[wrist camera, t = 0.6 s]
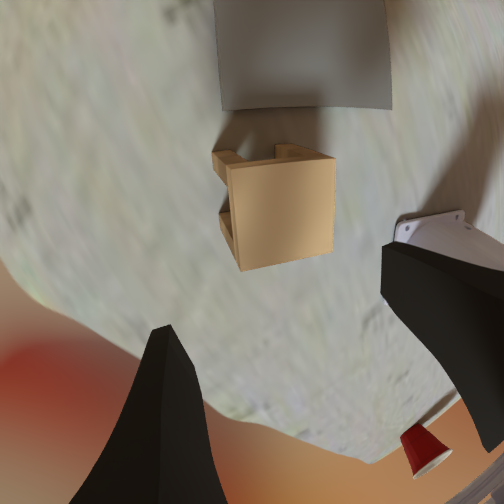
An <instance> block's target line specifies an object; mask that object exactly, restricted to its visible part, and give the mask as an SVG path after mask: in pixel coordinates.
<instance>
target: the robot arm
mask: <svg viewBox="0 0 504 504" xmlns="http://www.w3.org/2000/svg"><path fill="white" fill-rule="evenodd" d="M464 218H465V212H464V211H463V210H457V211H452V212H447V213H442V214H437V215H432V216H426V217H421V218H416V219H411V220H406V221H401V222H399V223H398V224H397V226H396V232H395V238H394V242H391V243H389V244H387V245H384V246H382V268H381V291H380V293H381V295H382V296H383V303H384V304H385V305H389V306H390V307H391V309H392V310H393V311H394V313H395V314H396V315H397V316H398V317H399V319H400V320H401V321H402V322H403V323H404V324H405V325H406V326H407V327H408V328H409V329H410V330H411V332H412V333H413V334H414V335H415V336H416V337H417V338H418V339H419V340H420V341H421V342H422V343H423V344H424V345H425V347H426V348H427V349H428V350H429V351H430V352H431V353H432V354H433V355H434V357H435V358H436V359H437V360H438V362H439V363H440V364H441V366H442V367H443V369H444V370H445V372H446V373H447V375H448V376H449V378H450V379H451V381H452V382H453V384H454V385H455V387H456V389H457V390H458V392H459V394H460V396H461V397H462V399H463V401H464V403H465V405H466V407H467V409H468V411H469V413H470V415H471V417H472V419H473V421H474V424H475V426H476V429H477V431H478V434H479V436H480V439H481V442H482V445H483V447H484V448H485V450H486V451H487V452H488V453H490V452H491V451H492V450H493V449H494V448H496V447H497V446H498V445H499V444H500V443H501V442H502V441H503V440H504V244H502V243H500V242H499V241H497V240H495V239H494V238H492V237H491V236H489V235H487V234H486V233H484V232H482V231H480V230H479V229H477V228H475V227H474V226H472V225H470V224H468V223H466V222H465V221H464ZM493 489H494V490H493ZM492 490H493V491H492ZM491 491H492V492H491ZM490 492H491V496H492V497H491V498H490V499H489V500H488V501H486V502H485V503H484V504H504V453H503V454H502V455H501V456H500V457H499V458H498V459H497V460H496V461H495V462H493V464H491V466H489V467H488V468H487V469H486V470H485V471H484V472H483V473H482V474H481V475H479V476H478V477H477V478H476V479H475V480H474V481H473V482H471V483H470V484H469V485H468V486H467V487H465V488H464V489H463V490H462V491H461V492H459V493H458V494H457V495H455V496H454V497H453V498H452V499H450V500H449V501H448V502H446V503H445V504H478V503H479V502H480V501H481V500H482V499H483V498H485V496H487V495H488V494H489V493H490ZM69 504H228V503H227V501H226V497H225V495H224V492H223V489H222V487H221V483H220V481H219V477H218V475H217V471H216V468H215V465H214V461H213V457H212V453H211V447H210V442H209V436H208V430H207V424H206V418H205V412H204V406H203V399H202V393H201V389H200V386H199V382H198V378H197V375H196V371H195V367H194V365H193V363H192V361H191V360H190V358H189V356H188V355H187V353H186V351H185V349H184V348H183V346H182V344H181V342H180V340H179V339H178V337H177V335H176V333H175V331H174V330H173V328H172V326H171V324H170V325H166V326H163V327H160V328H157V329H154V330H152V332H151V334H150V336H149V339H148V342H147V345H146V348H145V351H144V354H143V357H142V359H141V362H140V365H139V368H138V371H137V373H136V376H135V379H134V381H133V385H132V387H131V390H130V392H129V395H128V397H127V400H126V402H125V404H124V407H123V409H122V412H121V414H120V417H119V419H118V421H117V423H116V426H115V428H114V430H113V432H112V434H111V436H110V438H109V440H108V442H107V444H106V446H105V448H104V450H103V451H102V453H101V455H100V457H99V458H98V460H97V462H96V463H95V465H94V467H93V468H92V470H91V472H90V473H89V475H88V477H87V478H86V480H85V481H84V483H83V485H82V486H81V487H80V489H79V490H78V492H77V493H76V494H75V496H74V497H73V498H72V500H71V501H70V502H69Z"/></svg>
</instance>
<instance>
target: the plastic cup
mask: <svg viewBox="0 0 504 504" xmlns="http://www.w3.org/2000/svg"><path fill="white" fill-rule="evenodd" d="M400 439H401V443H402V445H403V447H404V450H405V453H406V455H407V458H408V460H409V463H410V465H411V469H412V472H413V479H416V478H418V477H420V476H422V475H424V474H425V473H427V472H429V471H430V470H431V469H433V468H434V467H436V466H437V465H438V464H439V463H441V462H442V461H443V460H444V459H445V458H446V457H447V456H448V455H449V454H450V453H451V452H452V449H450V448H448V447H447V446H445V445H444V444H442V443H441V442H440V441H439V440H438V439H437V438H436V437H435V436H433V435H432V434H431V433H430V432H429V431H427V430H426V429H425V428H424V427H423V426H422V425H420V424H416V425H414V426H413V427H411V428H410V429H408V430H407V431H406V432H405V433H404V434H403V435H402V436H401V437H400Z"/></svg>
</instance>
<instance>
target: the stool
mask: <svg viewBox="0 0 504 504" xmlns="http://www.w3.org/2000/svg"><path fill="white" fill-rule="evenodd" d="M212 160H213V169H214V171H215V172H216V173H217V175H218V176H219V177H220V178H221V180H222V181H223V182H224V183H225V185H226V186H227V187H228V192H229V202H230V211H229V212H223V213H219V220H220V228H221V231H222V233H223V235H224V237H225V239H226V242H227V244H228V246H229V248H230V250H231V252H232V254H233V256H234V258H235V260H236V262H237V264H238V267H239V269H240V271H241V272H242V271H247V270H252V269H257V268H261V267H266V266H271V265H275V264H280V263H285V262H289V261H294V260H299V259H303V258H308V257H312V256H317V255H321V254H326V253H330V252H332V251H333V235H334V214H335V181H336V158H333V157H330V156H327V155H324V154H322V153H319V152H316V151H313V150H310V149H307V148H304V147H301V146H298V145H294V144H291V143H290V144H277V145H275V159H269V160H260V161H252V162H249V161H247V160H245V159H244V158H242V157H241V156H239V155H237V154H236V153H234V152H233V151H231V150H223V151H216V152H212Z"/></svg>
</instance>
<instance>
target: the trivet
mask: <svg viewBox="0 0 504 504" xmlns="http://www.w3.org/2000/svg"><path fill="white" fill-rule="evenodd" d="M214 12H215V26H216V39H217V51H218V64H219V76H220V88H221V99H222V111H230V110H241V109H254V108H271V107H302V106H327V107H357V108H374V109H386V110H392V79H391V61H390V48H389V37H388V28H387V20H386V12H385V5H384V0H214Z"/></svg>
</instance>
